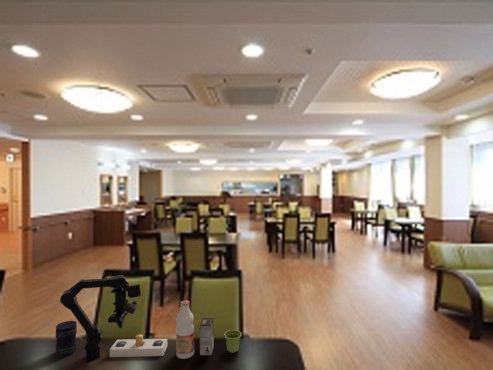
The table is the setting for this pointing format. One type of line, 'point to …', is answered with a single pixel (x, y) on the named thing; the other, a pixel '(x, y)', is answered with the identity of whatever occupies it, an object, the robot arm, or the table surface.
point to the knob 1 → (121, 344)
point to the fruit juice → (184, 332)
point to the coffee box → (206, 336)
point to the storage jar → (66, 338)
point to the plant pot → (232, 340)
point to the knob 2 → (158, 343)
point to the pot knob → (139, 340)
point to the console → (138, 348)
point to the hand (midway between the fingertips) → (120, 328)
